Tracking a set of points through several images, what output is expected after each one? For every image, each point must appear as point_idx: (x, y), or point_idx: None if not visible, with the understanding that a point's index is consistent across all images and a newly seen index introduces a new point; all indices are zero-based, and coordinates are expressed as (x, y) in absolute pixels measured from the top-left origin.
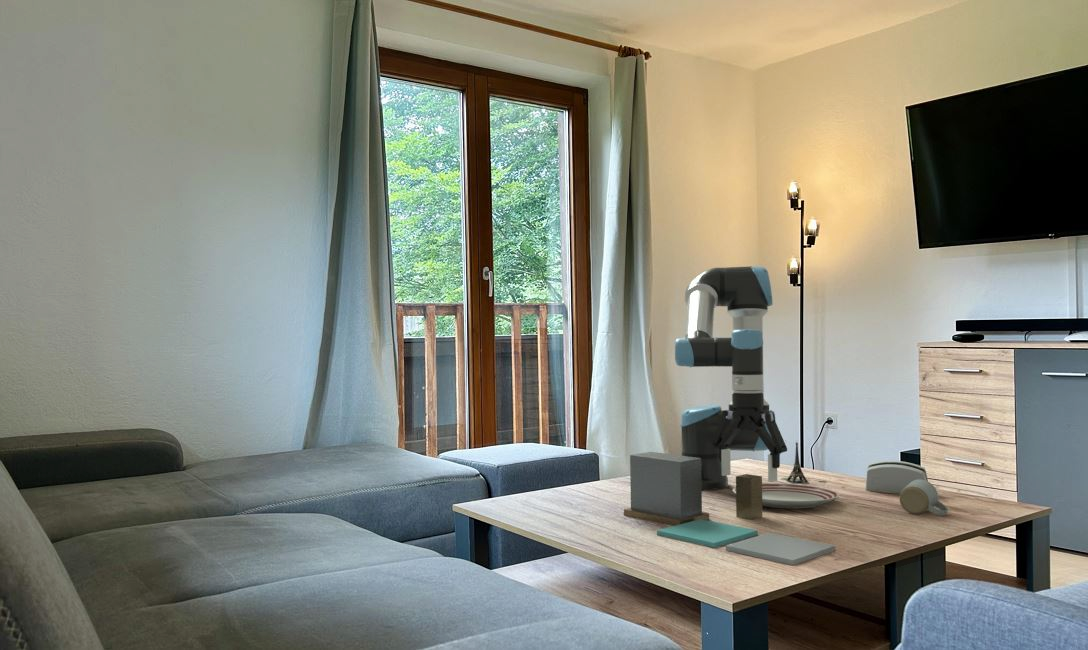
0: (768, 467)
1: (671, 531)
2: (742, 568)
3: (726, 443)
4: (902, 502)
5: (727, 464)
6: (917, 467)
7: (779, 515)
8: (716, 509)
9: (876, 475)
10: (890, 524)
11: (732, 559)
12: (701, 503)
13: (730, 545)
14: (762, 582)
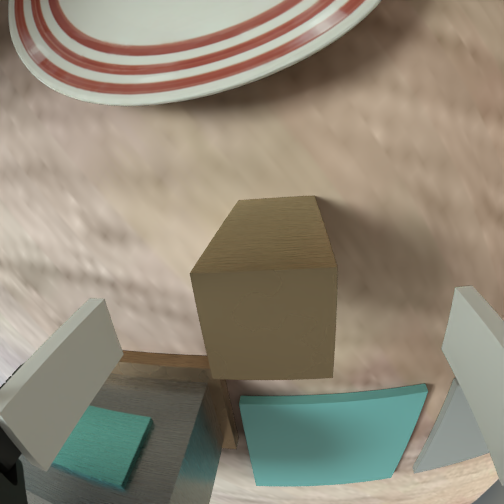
0: (475, 410)
1: (281, 481)
2: (458, 479)
3: (15, 496)
4: None
5: (80, 367)
6: None
7: (344, 121)
8: (116, 226)
9: None
10: None
11: (437, 475)
12: (200, 407)
13: (420, 469)
14: (486, 480)
